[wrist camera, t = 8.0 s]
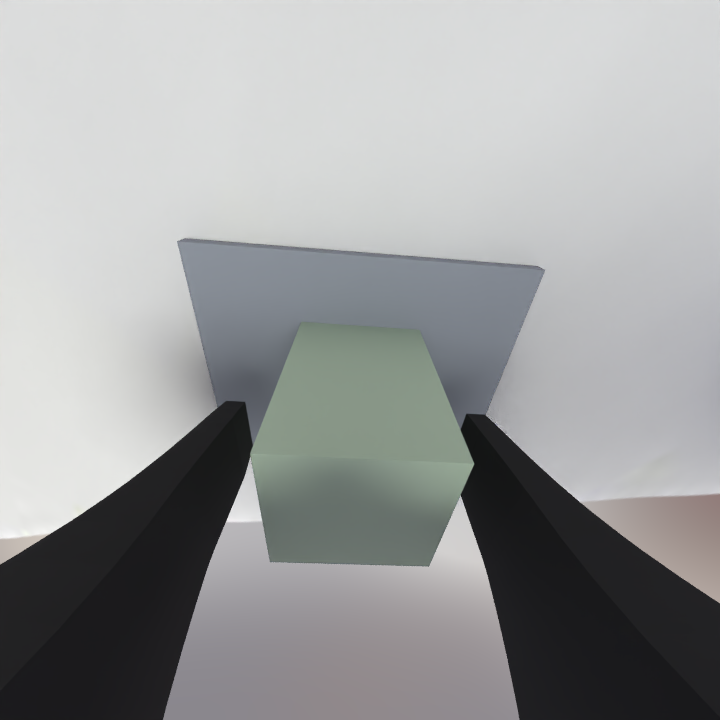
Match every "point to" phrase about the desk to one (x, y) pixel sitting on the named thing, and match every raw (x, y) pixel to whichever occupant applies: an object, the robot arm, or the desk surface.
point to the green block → (358, 450)
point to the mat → (351, 313)
